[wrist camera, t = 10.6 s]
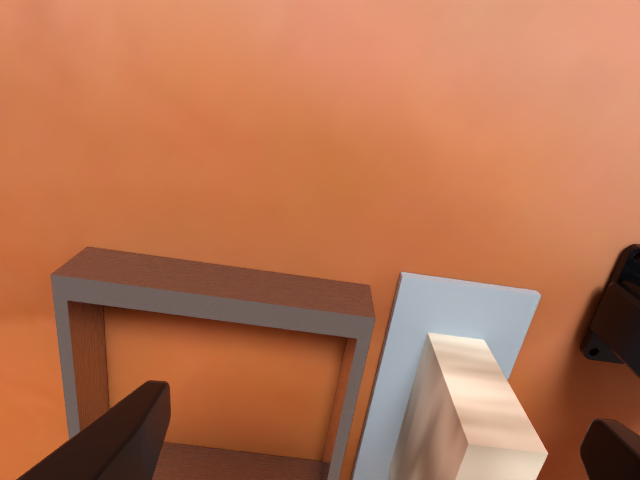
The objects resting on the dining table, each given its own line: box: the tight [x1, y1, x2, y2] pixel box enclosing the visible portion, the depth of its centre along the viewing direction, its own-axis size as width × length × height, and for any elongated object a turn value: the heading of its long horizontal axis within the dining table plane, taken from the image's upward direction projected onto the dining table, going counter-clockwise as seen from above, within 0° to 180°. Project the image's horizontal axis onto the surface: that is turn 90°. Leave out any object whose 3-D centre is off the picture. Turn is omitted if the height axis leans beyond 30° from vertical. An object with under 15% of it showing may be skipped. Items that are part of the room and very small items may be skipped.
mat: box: [350, 272, 541, 480], centre depth 24 cm, size 7×16×1 cm, turn 172°
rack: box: [51, 247, 375, 480], centre depth 24 cm, size 14×20×3 cm
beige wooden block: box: [389, 333, 548, 480], centre depth 21 cm, size 10×3×7 cm, turn 172°
